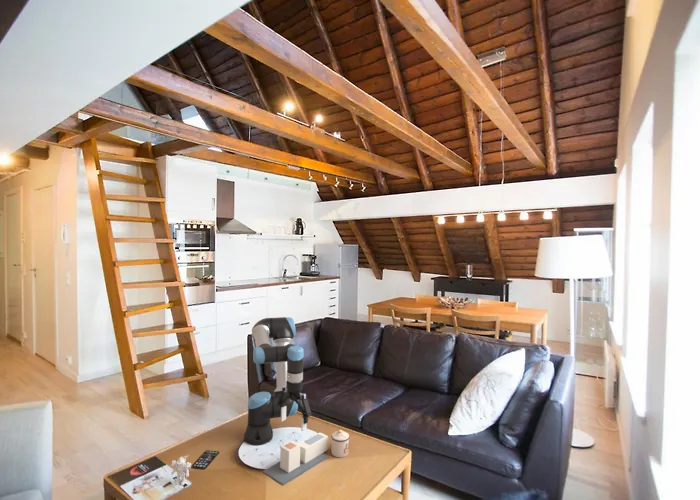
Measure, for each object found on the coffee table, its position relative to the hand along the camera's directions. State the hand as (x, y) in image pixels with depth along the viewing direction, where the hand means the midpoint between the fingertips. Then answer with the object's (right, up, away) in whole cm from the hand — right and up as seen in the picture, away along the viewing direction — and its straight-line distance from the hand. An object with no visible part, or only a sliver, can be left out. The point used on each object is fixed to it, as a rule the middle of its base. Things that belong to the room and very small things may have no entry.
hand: (293, 425), depth 179 cm
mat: (+1, -21, +4) cm, 21 cm away
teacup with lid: (+22, -21, +16) cm, 34 cm away
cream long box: (+7, -20, +11) cm, 24 cm away
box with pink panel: (-2, -20, 0) cm, 20 cm away
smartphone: (-43, -20, +5) cm, 48 cm away
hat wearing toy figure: (-47, -20, -12) cm, 53 cm away
